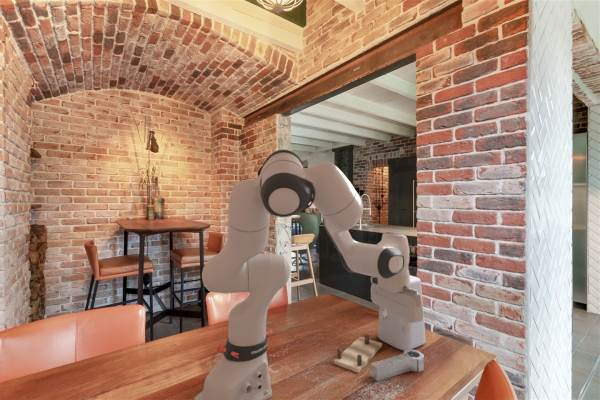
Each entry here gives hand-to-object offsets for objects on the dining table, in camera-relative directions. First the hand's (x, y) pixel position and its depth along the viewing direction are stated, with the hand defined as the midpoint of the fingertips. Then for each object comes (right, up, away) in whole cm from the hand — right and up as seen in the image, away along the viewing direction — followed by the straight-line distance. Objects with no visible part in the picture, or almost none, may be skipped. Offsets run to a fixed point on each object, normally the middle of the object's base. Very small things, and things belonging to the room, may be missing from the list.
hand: (395, 325), depth 93 cm
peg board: (-9, -15, +11) cm, 21 cm away
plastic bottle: (+9, -15, +21) cm, 28 cm away
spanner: (+1, -15, +1) cm, 15 cm away
